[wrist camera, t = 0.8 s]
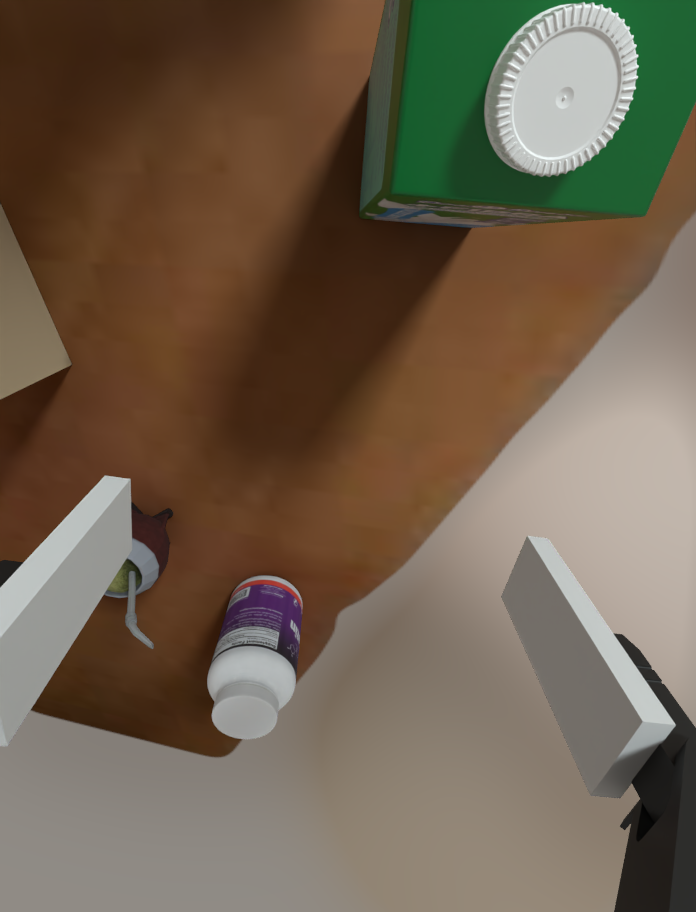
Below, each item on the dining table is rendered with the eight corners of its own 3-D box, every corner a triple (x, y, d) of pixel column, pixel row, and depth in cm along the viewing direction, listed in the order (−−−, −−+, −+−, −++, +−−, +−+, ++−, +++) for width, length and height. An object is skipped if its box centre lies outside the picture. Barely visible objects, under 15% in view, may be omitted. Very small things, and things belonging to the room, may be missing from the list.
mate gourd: (97, 514, 47) (1, 627, 33) (158, 478, 45) (82, 582, 32) (147, 564, 50) (77, 688, 36) (206, 532, 48) (155, 648, 35)
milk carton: (358, 218, 36) (397, 188, 13) (369, 72, 32) (448, -314, 10) (473, 228, 36) (695, 214, 14) (497, 85, 33) (859, -253, 10)
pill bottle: (297, 629, 54) (285, 754, 41) (228, 620, 53) (193, 744, 40) (309, 576, 51) (299, 692, 38) (235, 565, 50) (200, 680, 37)
